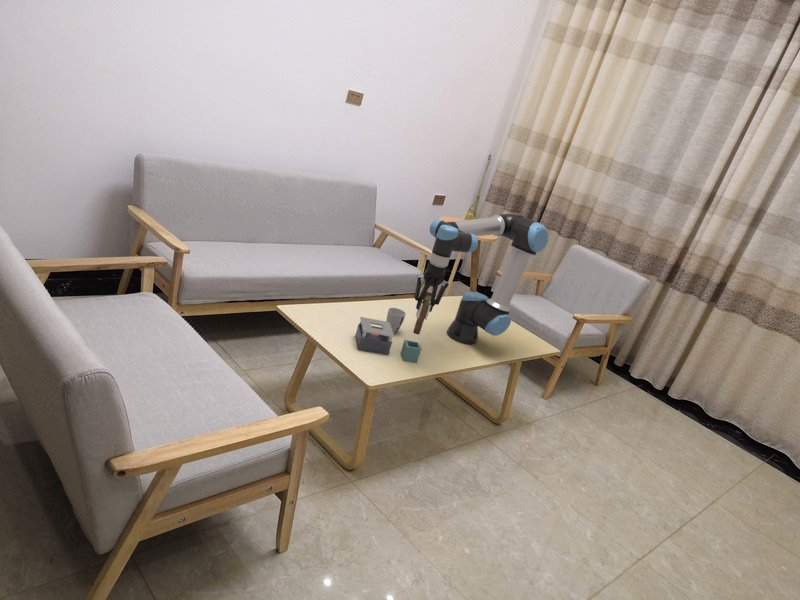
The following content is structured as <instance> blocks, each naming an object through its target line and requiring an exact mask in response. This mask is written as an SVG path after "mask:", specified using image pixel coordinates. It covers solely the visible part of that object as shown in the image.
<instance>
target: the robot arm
mask: <svg viewBox="0 0 800 600" xmlns="http://www.w3.org/2000/svg"><path fill="white" fill-rule="evenodd" d="M429 234H430V235H431V236H432V237H434V238H435V241H434V243H433V247H432V251H431V253H430V257H429V262H428V263H427V266H426V269H425V271H424V273H423V275H417V276H416V285H415V292H414V297H413V298H414V300H415V301H417V303H416V305H415V308H416V314H415V316H416V318H419V316H420V313H421V309H422V306H423V303H422V302H423V299H424V297H425V294H426V292H428V290H429V289H430V288H431V287H432V289H431V293H432V297H431V300H430V303H429V306H428V309H427V312H426V315H425V318H424V321H425V320H428V316H429V315H430V313H431V312H432V310H433V308H434V307H435V305H439V304H440V302H441V300H442V297H443V296H444V293H445V291H446V289H447V288H448V286H449V285H450V284H449V282H448V281H447V280H445V274H446V271H447V267H448V266H449V263H450V260H451V256H452V253H453V252H459V253H473V252H475V251H476V250H477V248H478V246H479V240H478V239H479V238H478V237H483V236H491V235H493V236H495V237H504V238H507V239H509V240H511V241H512V242H511V243H510V247H511V252H510V254H509V256H508V257H509V258H508V259H507V261H506V263H505V266H504V269H503V270H502V273H501V275H500V278H499V280H498V282H497V284H496V286H495V288H494V291H493V294H492V295H491V298H489V297H488V296H487V295H485V294H483V293H480V292H474V291H466V292H464V293H463V295H462V297H461V300H460V302H459V306H458V309H457V311H456V314H455V318H454V320H453V321H452V322H451V323H450V325H449V326H448V327H447V330H446V335H447V336H448V337H450V338H451V339H452V340H454V341H456V342H459V343H462V344H466V345H474V344H476V343H477V342H478V339H479V338H478V336H479V335H478V334H479V328H480V329H482V330H483V331H484V332H486V333H488V334H490V335H491V336H500V335H502V334H503V333H504V332H506V331H507V330H508V329H509V327H510V325H511V321H512V318H511V316H510V315H509V314H510V312H511V308H510V304H511V301H512V300H513V297H514V295H515V292H516V290H517V288H518V286H519V284H520V281H521V279H522V277H523V275H524V273H525V271H526V268H527V266H528V263H529V262H530V259H531V258H532V257H535V256H536V255H537V253H540V252H542V251H543V250H544V249H545V248H546V246H547V244H548V243H549V242H548V241H549V232H548V229H547V228H546V226H545V225H543V224H541V223H539V222H537V221H535V220H533V219H530V218H527V217H525V216H524V215H521V214H517V213H502V214H501V213H499V214H494V215H492V216H490V217H485V218H484V217H483V218H474V219H473V218H472V219H466V220H465V219H464V220H456V221H455V220H454V221H453V220H452V221H444V220H443V219H438V218H437V219H435V220H433V221H432V222H431V224H430V225H429ZM423 281H424V284H423V288H422V289H421V287H422V282H423ZM439 285H441V286H440V289H439V288H438V287H439ZM438 289H439V290H438ZM437 292H438V293H437Z"/></svg>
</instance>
